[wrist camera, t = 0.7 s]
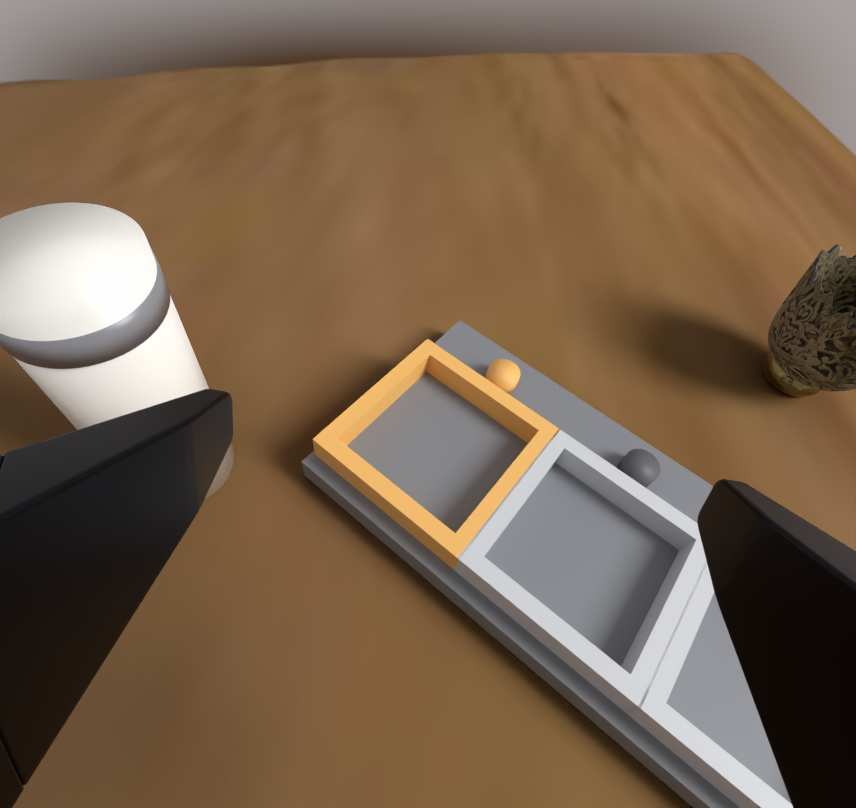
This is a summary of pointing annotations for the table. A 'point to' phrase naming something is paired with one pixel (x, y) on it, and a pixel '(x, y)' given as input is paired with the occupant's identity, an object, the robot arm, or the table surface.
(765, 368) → the cup
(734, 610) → the robot arm
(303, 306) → the table surface
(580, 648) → the board
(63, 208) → the white bottle
